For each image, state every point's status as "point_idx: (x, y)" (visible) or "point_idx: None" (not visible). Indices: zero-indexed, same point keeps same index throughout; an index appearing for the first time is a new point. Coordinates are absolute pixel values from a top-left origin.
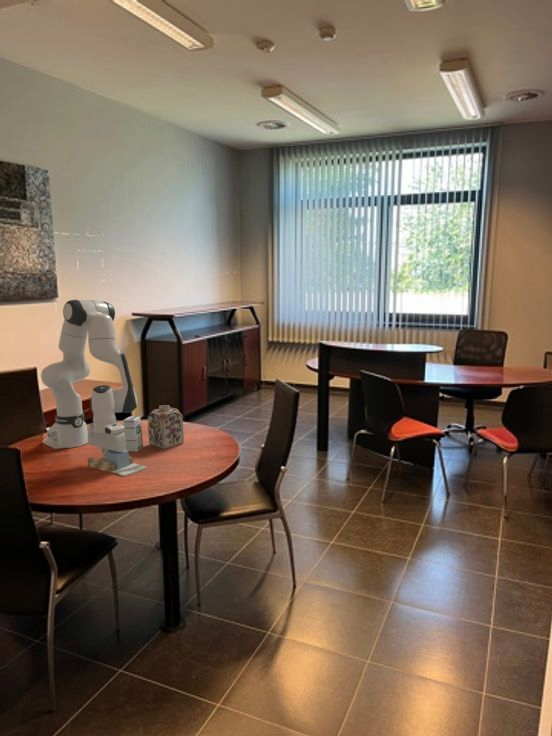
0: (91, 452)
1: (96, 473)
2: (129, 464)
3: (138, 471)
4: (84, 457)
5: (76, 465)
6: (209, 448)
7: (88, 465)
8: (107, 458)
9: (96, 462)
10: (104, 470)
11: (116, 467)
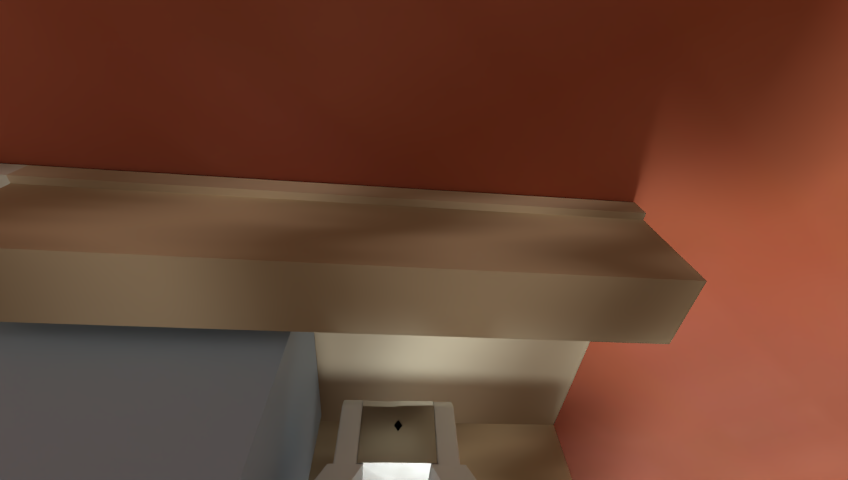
0: (818, 452)
1: (210, 13)
2: None
3: None
4: (841, 364)
5: (843, 141)
6: None
7: (621, 207)
8: (203, 391)
9: (425, 249)
10: (219, 179)
11: None
